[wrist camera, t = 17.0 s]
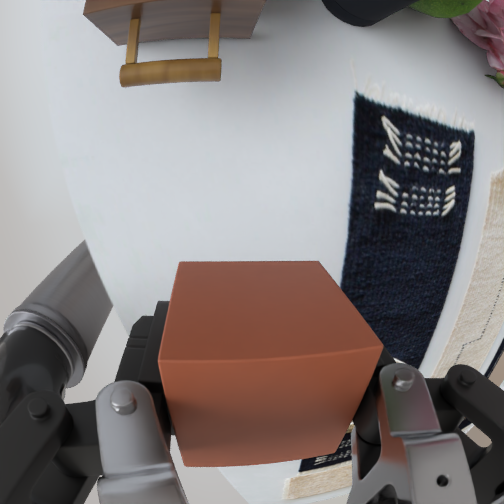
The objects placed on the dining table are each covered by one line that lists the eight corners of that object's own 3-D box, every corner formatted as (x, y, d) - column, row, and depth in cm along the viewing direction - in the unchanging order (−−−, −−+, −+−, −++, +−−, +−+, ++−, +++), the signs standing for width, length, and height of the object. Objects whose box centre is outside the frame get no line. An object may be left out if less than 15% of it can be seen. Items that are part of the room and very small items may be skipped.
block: (188, 366, 10) (184, 467, 6) (178, 260, 9) (156, 360, 5) (301, 362, 11) (335, 453, 7) (318, 260, 9) (384, 345, 5)
